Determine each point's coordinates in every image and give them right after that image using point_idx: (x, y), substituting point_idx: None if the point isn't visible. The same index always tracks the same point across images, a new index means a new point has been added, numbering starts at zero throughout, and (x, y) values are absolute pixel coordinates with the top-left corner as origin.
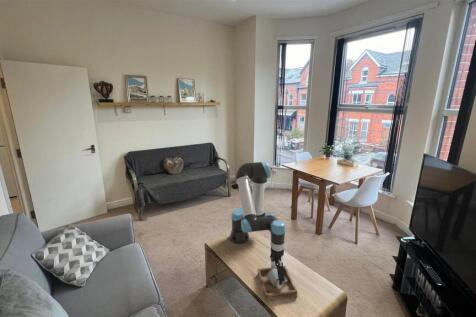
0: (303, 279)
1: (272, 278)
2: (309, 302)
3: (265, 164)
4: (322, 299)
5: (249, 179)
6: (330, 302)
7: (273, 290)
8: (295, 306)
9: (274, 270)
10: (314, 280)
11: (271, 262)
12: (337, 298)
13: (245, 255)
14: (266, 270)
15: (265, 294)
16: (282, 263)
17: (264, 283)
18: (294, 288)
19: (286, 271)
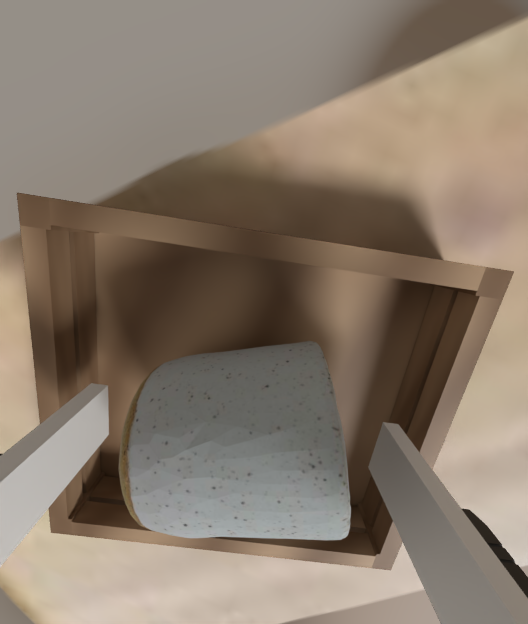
0: (241, 569)
1: (198, 400)
2: (44, 518)
3: None
4: (60, 586)
5: None
6: (35, 608)
7: (175, 332)
8: (15, 426)
9: (301, 516)
10: (214, 615)
11: (508, 614)
12: None
13: None
14: (432, 372)
15: (30, 197)
16: None
17: (285, 281)
18: (87, 525)
19: (316, 549)
